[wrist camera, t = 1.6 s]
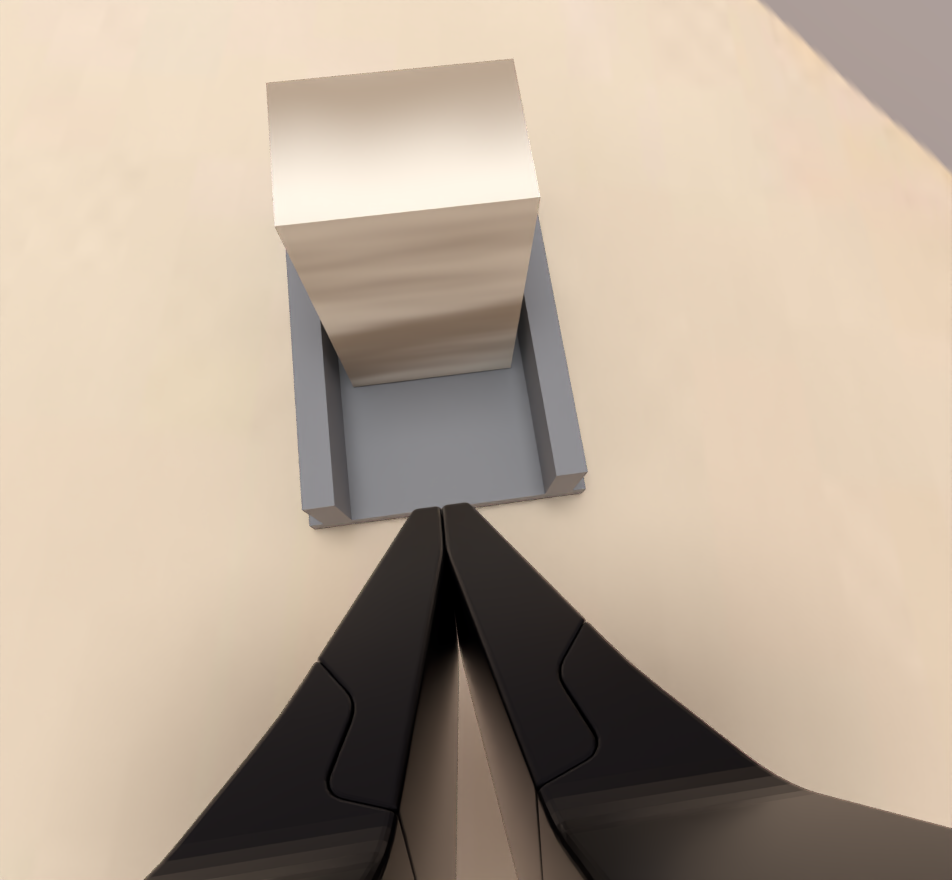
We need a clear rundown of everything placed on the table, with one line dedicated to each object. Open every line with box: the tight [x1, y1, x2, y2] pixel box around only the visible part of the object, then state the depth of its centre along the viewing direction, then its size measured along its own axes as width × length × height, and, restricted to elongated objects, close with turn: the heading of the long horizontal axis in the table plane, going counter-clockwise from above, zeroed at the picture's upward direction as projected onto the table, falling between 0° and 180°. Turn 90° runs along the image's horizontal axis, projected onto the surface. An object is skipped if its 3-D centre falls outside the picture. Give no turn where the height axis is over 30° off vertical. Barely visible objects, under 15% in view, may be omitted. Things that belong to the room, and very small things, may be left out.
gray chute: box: [286, 214, 588, 529], centre depth 23 cm, size 14×10×4 cm
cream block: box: [266, 59, 540, 387], centre depth 19 cm, size 4×6×10 cm, turn 98°
